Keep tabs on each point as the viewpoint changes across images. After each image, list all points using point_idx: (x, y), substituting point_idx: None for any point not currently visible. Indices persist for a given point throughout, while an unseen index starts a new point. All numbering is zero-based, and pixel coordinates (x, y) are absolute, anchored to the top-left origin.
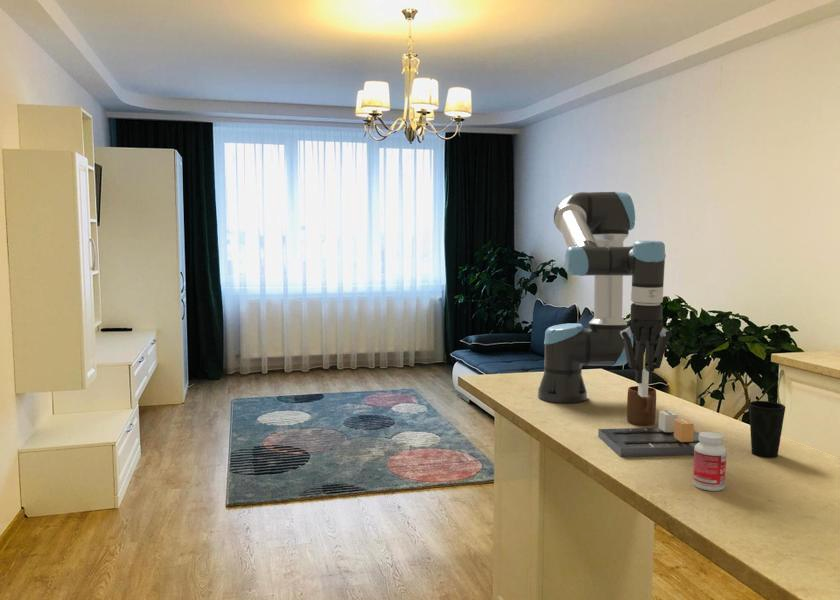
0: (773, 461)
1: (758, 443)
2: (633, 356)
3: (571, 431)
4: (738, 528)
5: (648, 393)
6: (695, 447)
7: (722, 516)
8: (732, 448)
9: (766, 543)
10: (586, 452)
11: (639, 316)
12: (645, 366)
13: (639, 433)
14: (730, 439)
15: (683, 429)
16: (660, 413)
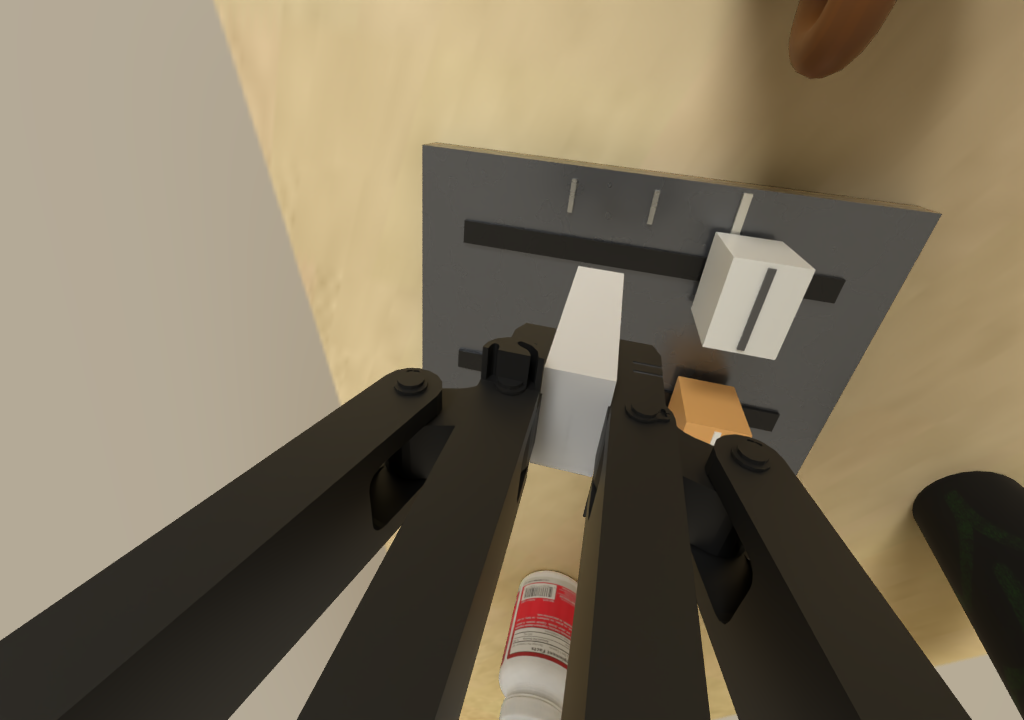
0: (908, 555)
1: (936, 554)
2: (340, 577)
3: (336, 22)
4: (489, 686)
5: None
6: (500, 675)
7: (490, 661)
8: (912, 426)
9: (498, 716)
10: (341, 319)
11: None
12: (605, 429)
13: (581, 261)
14: None
15: None
16: (725, 274)
